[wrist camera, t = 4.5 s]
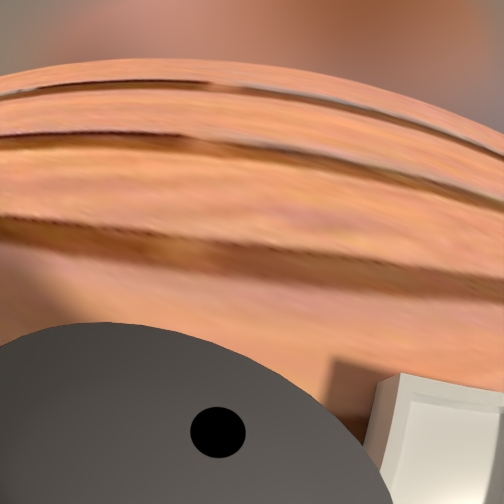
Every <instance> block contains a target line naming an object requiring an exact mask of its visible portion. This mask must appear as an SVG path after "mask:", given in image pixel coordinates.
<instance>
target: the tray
mask: <svg viewBox="0 0 504 504" xmlns="http://www.w3.org/2000/svg"><path fill="white" fill-rule="evenodd" d="M363 448H364V449H365V451H366V452H367V454H368V455H369V457H370V458H371V459H372V461H373V462H374V464H375V465H376V467H377V468H378V470H379V472H380V474H381V476H382V478H383V480H384V482H385V484H386V486H387V488H388V490H389V492H390V495H391V498H392V501H393V504H504V393H501V392H495V391H489V390H483V389H477V388H472V387H467V386H461V385H456V384H451V383H446V382H442V381H437V380H432V379H427V378H423V377H418V376H414V375H410V374H405V373H399V374H396V375H394V376H392V377H390V378H387V379H385V380H383V381H380V382H378V383H377V386H376V391H375V396H374V401H373V406H372V410H371V415H370V419H369V424H368V428H367V432H366V436H365V440H364V444H363Z"/></svg>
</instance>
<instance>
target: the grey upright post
mask: <svg viewBox="0 0 504 504" xmlns="http://www.w3.org/2000/svg"><path fill="white" fill-rule="evenodd" d="M0 504H393V501H392V498H391V495H390V492H389V490H388V488H387V486H386V484H385V482H384V480H383V478H382V476H381V474H380V472H379V470H378V468H377V467H376V465H375V464H374V462H373V461H372V459H371V458H370V457H369V455H368V454H367V452H366V451H365V449H364V448H363V446H362V445H361V444H360V442H359V441H358V440H357V439H356V438H355V437H354V436H353V435H352V434H351V433H350V431H349V430H348V429H347V428H346V427H345V426H344V425H343V424H342V423H341V422H340V421H339V419H338V418H337V417H335V416H334V415H333V414H332V413H331V412H329V411H328V410H327V409H326V408H325V407H324V406H322V405H321V404H320V403H319V402H318V401H316V400H315V399H314V398H313V397H312V396H311V395H309V394H308V393H306V392H305V391H303V390H302V389H300V388H299V387H297V386H296V385H294V384H293V383H291V382H290V381H288V380H287V379H286V378H284V377H283V376H281V375H280V374H278V373H276V372H274V371H272V370H270V369H268V368H266V367H265V366H263V365H261V364H259V363H257V362H255V361H253V360H252V359H250V358H248V357H246V356H243V355H241V354H239V353H236V352H234V351H231V350H229V349H226V348H224V347H222V346H219V345H217V344H214V343H212V342H209V341H205V340H202V339H199V338H195V337H192V336H189V335H186V334H182V333H179V332H176V331H170V330H165V329H160V328H154V327H149V326H144V325H136V324H123V323H112V322H100V323H76V324H70V325H64V326H57V327H51V328H47V329H43V330H40V331H37V332H34V333H30V334H27V335H24V336H21V337H19V338H17V339H15V340H13V341H11V342H9V343H7V344H5V345H3V346H1V347H0Z"/></svg>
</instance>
